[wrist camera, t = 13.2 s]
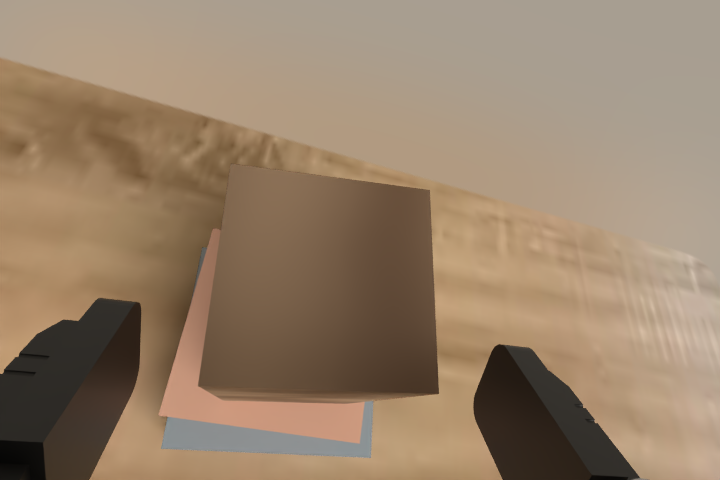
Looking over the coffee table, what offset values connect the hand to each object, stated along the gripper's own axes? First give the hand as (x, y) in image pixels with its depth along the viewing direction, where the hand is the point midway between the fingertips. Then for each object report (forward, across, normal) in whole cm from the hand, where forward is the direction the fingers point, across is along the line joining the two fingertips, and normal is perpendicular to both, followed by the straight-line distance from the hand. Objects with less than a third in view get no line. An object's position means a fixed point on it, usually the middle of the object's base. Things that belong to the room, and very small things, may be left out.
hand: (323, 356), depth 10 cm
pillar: (+8, 0, +5) cm, 9 cm away
